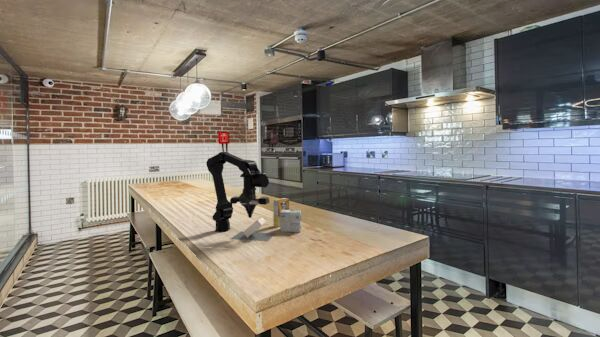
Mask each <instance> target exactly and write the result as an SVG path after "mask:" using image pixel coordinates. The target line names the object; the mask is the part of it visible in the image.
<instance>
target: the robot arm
mask: <svg viewBox="0 0 600 337" xmlns="http://www.w3.org/2000/svg"><path fill="white" fill-rule="evenodd" d="M205 163H206V168H207V170H208V172H209V173H210V174H211V175H212V180H213V185H214V191H215V194H216V200H217V203H216V206H215V213H213V215H211V216H212V217H211V218H212V220H213V221H214V222H215V230H214V232H219V233H220V232H221V233H226V232H228V231H229V230H231V224H230V219H232V216H233V212H234V207H233V205H234V204H237V203H239V204H240V205H241V206H242V207H244V209H245V211H246V213H247V216H248V218H249V219H251V218H252V217H253V214H254V211H255V208H256V207H257V205H264V206H265V205H268V204H270V198H269V197H268V196H261V197H259V198H257V196H256V191H257V188H264V189H266V188H267V187H268V186H269V183H270V180H269V178H268V176H267V175H266V172H265V173H264V172H262V171H261V170H260V168H259V167H258V166H259V165H257V162H256V160H255V161H254V160H251V159H243V158H241V157H239V156H237V155H234V154H231V153H230V152H228V151H221V152H218V153H217V154H215V155H213V156H211V157H209V158H208V159H207V161H206V162H205ZM226 163H229V164H230V165H233V166H235V167H237V168H238V169H239V171H241V174H240V177H241V178H243V189H242V193H241V194H240V195H239V196H232V197H230V199H229V200H228V197H227V193H226V188H225V183H224V178H223V170H224V165H225V164H226Z"/></svg>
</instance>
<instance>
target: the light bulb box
mask: <svg viewBox="0 0 600 337" xmlns="http://www.w3.org/2000/svg"><path fill="white" fill-rule="evenodd" d="M279 228H280V232H290V233H301V230H302V210H301V209H289V210H282V211H281V212H280V227H279Z"/></svg>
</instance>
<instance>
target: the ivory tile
mask: <svg viewBox="0 0 600 337" xmlns="http://www.w3.org/2000/svg"><path fill="white" fill-rule="evenodd" d="M265 223H267V221H266V219H264V218H263V217H262V216H261V217H260V218H258V219H257V220H256V221H254V222H253V223H252V224H251V225H250V226H248V227H247V228H246V229H245V230H244V231H243V232H244V235H245V236H246V237H247V238H248V237H249V236H250V235H252V234H253V233H254V232H257V230H258V229H260V228H261V227H262V226H264V224H265Z"/></svg>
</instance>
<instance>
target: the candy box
mask: <svg viewBox="0 0 600 337" xmlns="http://www.w3.org/2000/svg"><path fill="white" fill-rule="evenodd" d="M272 203H273V204H272V205H273V207H272V208H273V213H272V214H273V227H274V228H280V212H281V211H282V210H290V198H288V197H287V198H286V197H282V198H276V199H273V202H272Z"/></svg>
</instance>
